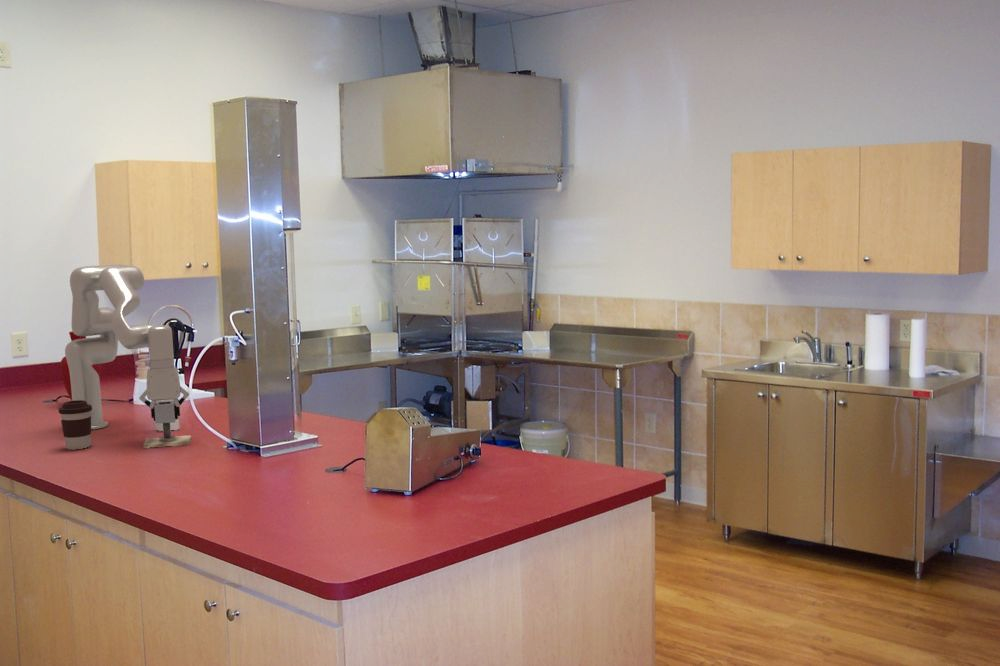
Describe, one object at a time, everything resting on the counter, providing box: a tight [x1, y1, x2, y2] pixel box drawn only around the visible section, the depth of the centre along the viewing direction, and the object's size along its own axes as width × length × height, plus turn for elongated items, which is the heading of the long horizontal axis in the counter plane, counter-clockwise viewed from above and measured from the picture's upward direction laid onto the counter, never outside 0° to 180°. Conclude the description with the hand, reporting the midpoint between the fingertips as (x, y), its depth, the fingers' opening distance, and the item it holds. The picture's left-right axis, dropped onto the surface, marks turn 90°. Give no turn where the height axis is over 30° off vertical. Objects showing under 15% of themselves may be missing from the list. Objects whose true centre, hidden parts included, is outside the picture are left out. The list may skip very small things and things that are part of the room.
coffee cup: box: [58, 400, 92, 451], centre depth 333 cm, size 10×10×15 cm
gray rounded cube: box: [154, 401, 176, 424], centre depth 334 cm, size 6×6×6 cm
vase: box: [60, 330, 102, 401], centre depth 410 cm, size 15×15×30 cm
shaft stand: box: [143, 423, 192, 449], centre depth 335 cm, size 14×10×8 cm
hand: (166, 418), depth 334 cm, fingers closed on gray rounded cube, 6 cm apart
